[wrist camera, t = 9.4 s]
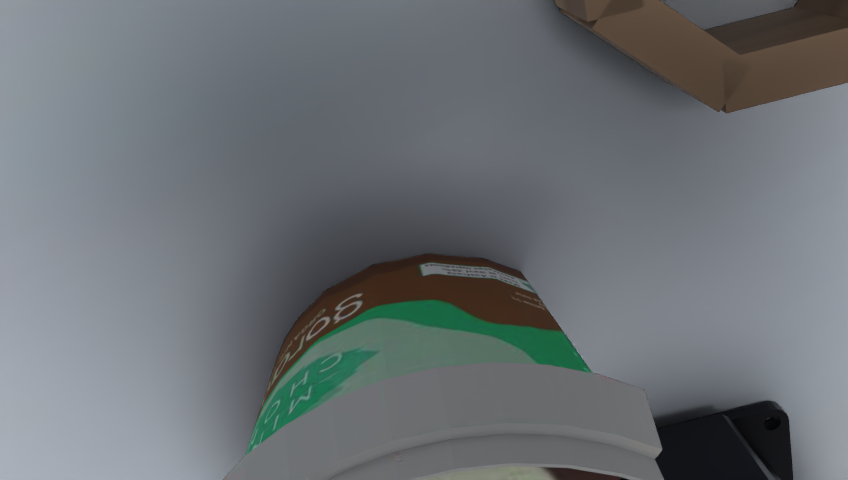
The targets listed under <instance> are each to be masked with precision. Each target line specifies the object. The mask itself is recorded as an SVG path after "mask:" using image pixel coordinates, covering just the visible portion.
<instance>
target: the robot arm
mask: <svg viewBox="0 0 848 480" xmlns="http://www.w3.org/2000/svg"><path fill="white" fill-rule="evenodd" d="M771 416H774V417H773V419H772V420H771V421H769V422H765V421H766V420H767V418H769V417H771ZM657 433H658V436H659V439H660V443H661V446H662V451H661V452H660V454H659V455H658V456H657V457H656V458H655V461H656V463H657V465H658V467H659V470H660V472H661V474H662V476H663V478H664V480H793V471H792V457H791V444H790V430H789V419H788V416H787V414H786V413H785V411H784V410H783V409H782V408H781V407H780V406H779V405H778V404H777V403H774V402H764V403H760V404H755V405H751V406H747V407H743V408H739V409H735V410H731V411H727V412H723V413H719V414H715V415H710V416H706V417H702V418H698V419H694V420H690V421H686V422H682V423H678V424H674V425H670V426H666V427H661V428H657ZM620 480H629V479H626V478H623V477H622V478H621V479H620Z"/></svg>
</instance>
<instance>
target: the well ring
mask: <svg viewBox="0 0 848 480" xmlns="http://www.w3.org/2000/svg"><path fill="white" fill-rule="evenodd" d="M555 5H556V6H558V7H560V8H561V9H560V12H561V13H563V14H564V15H566V16H567V17H569V18H570V19H572V20H573V21H575V22H577V23H578V24H580V25H581V26H583V27H584V28H586V29H587V30H589V31H590V32H592V33H593V34H595V35H596V36H598V37H599V38H601V39H602V40H604V41H606V42H607V43H609V44H610V45H612V46H613V47H615V48H616V49H618V50H619V51H621V52H622V53H624V54H625V55H627V56H628V57H630V58H631V59H633V60H634V61H636V62H638V63H639V64H641V65H642V66H644V67H645V68H647V69H648V70H650V71H651V72H653V73H654V74H656V75H657V76H659V77H660V78H662V79H663V80H665V81H667V82H668V83H670V84H671V85H673V86H675V87H676V88H678V89H680V90H682V91H683V92H685V93H687V94H688V95H690V96H692V97H694V98H695V99H697V100H699V101H701V102H702V103H704V104H706V105H708V106H709V107H711V108H713V109H714V110H716V111H718V112H720V110H722V111H723V112H725V113H730V112H734V111H737V110H741V109H745V108H749V107H753V106H757V105H761V104H765V103H769V102H773V101H777V100H781V99H785V98H789V97H793V96H797V95H800V94H804V93H808V92H812V91H816V90H820V89H824V88H828V87H832V86H836V85H840V84H844V83H848V0H799V1H798V2H797V4H796V5H795V6H794V7H793V8H789V9H785V10H781V11H777V12H773V13H770V14H766V15H762V16H758V17H754V18H750V19H746V20H742V21H738V22H735V23H731V24H727V25H723V26H719V27H715V28H711V29H707V30H703V29H701V28H700V27H698V26H697V25H695V24H694V23H692V22H691V21H689V20H688V19H687V18H685V17H684V16H682V15H681V14H679V13H678V12H676V11H675V10H673V9H672V8H670V7H669V6H668V5H666V4H665V3H663V2H662V1H660V0H555Z"/></svg>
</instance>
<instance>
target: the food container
mask: <svg viewBox="0 0 848 480" xmlns="http://www.w3.org/2000/svg"><path fill="white" fill-rule="evenodd" d="M661 451H662V446H661V443H660V439H659V436H658V433H657V429H656V426H655V423H654V419H653V416H652V413H651V409H650V406H649V403H648V399H647V396H646V392H645V390H643V389H640V388H638V387H635V386H632V385H629V384H626V383H623V382H620V381H617V380H614V379H611V378H608V377H605V376H602V375H599V374H594V373H592V372H591V370H590V369H589V367H588V366H587V365H586V363H585V362H584V360H583V359H582V357H581V356H580V355H579V353H578V352H577V350H576V349H575V348H574V346H573V345H572V343H571V342H570V340H569V339H568V338H567V336H566V335H565V333H564V332H563V331H562V329H561V328H560V326H559V325H558V323H557V322H556V321H555V319H554V318H553V316H552V315H551V313H550V312H549V311H548V309H547V308H546V306H545V305H544V304H543V302H542V301H541V299H540V298H539V296H538V295H537V294H536V292H535V291H534V289H533V288H532V287H531V285H530V284H529V282H528V281H527V279H526V278H525V277H524V275H523V274H522V272H520V271H517V270H514V269H512V268H509V267H506V266H503V265H501V264H498V263H495V262H492V261H490V260H487V259H484V258H474V257H462V256H450V255H438V254H423V255H418V256H413V257H409V258H404V259H399V260H394V261H389V262H384V263H379V264H374V265H371V266H370V267H368V268H366V269H364V270H362V271H360V272H359V273H357V274H355V275H353V276H351V277H349V278H347V279H346V280H344V281H342V282H340V283H338V284H336V285H334V286H333V287H331V288H329V289H327V290H326V291H325V292H324V293H323V294H322V295H321V296H320V297H319V298H318V299H317V300H316V301H315V302H314V303H313V304H312V305H311V306H310V307H309V308H308V309H307V310H306V311H305V312H304V313H303V314H302V315H301V316H300V317H299V318H298V319H297V321H296V322H295V324H294V325H293V327H292V328H291V330H290V332H289V333H288V335H287V336H286V338H285V340H284V342H283V345H282V347H281V350H280V352H279V355H278V357H277V360H276V363H275V366H274V369H273V372H272V375H271V378H270V381H269V384H268V387H267V390H266V393H265V396H264V399H263V402H262V405H261V408H260V411H259V414H258V418H257V421H256V424H255V427H254V430H253V433H252V436H251V439H250V442H249V445H248V448H247V451H246V454H245V456H244V457H243V458H242V459H241V461H240V462H239V463H238V464H237V465H236V466H235V467H234V468H233V469H232V470H231V471H230V472H229V473H228V474H227V476H226V477H225V478H224V479H223V480H620V479H621V478H622V477H623V478H626V479H629V480H664V478H663V476H662V474H661V472H660V470H659V467H658V465H657V463H656V461H655V458H656V457H657V456H658V455H659V454H660V452H661Z"/></svg>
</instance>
